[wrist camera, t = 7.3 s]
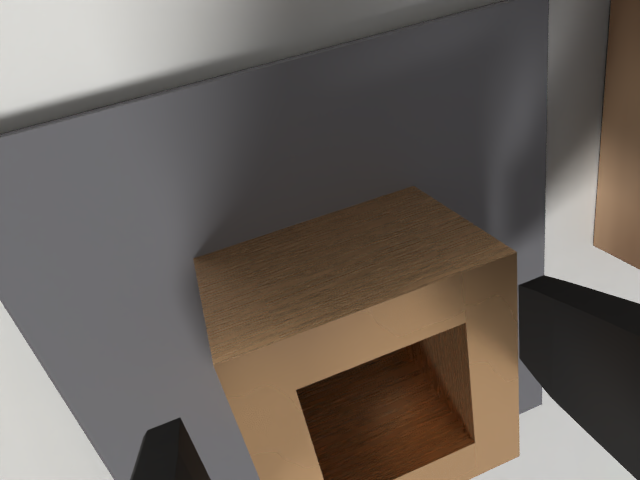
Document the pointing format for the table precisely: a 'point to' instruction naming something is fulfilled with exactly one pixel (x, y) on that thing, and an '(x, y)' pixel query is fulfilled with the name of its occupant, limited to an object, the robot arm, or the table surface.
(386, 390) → the collar
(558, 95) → the table surface
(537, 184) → the mat
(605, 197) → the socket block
